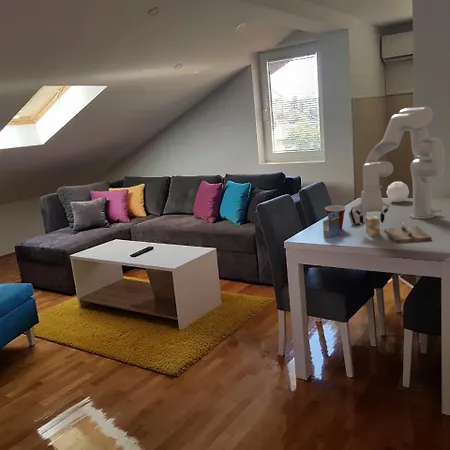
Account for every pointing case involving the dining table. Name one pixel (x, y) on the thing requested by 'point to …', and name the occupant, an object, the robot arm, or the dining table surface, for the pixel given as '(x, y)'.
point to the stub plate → (407, 234)
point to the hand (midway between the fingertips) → (371, 222)
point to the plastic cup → (333, 209)
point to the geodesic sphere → (397, 191)
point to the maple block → (372, 225)
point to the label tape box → (331, 225)
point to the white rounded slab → (356, 216)
